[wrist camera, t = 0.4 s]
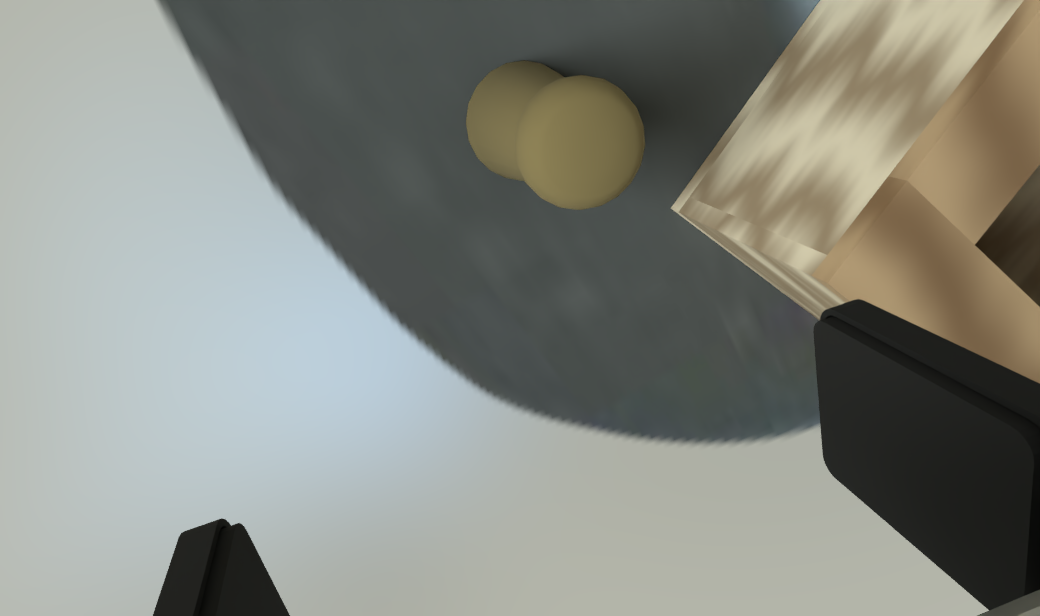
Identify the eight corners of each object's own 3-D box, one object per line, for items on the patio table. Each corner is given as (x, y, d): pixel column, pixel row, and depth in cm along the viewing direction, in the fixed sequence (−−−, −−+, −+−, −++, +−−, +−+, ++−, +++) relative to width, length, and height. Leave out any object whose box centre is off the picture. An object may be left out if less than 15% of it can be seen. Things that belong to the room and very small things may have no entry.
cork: (590, 158, 37) (682, 197, 27) (487, 195, 37) (541, 250, 27) (561, 44, 35) (649, 41, 25) (450, 82, 34) (494, 95, 24)
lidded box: (872, -73, 37) (1155, -139, 24) (1041, 122, 44) (1330, 152, 31) (670, 208, 40) (827, 283, 27) (859, 350, 46) (1055, 463, 34)
